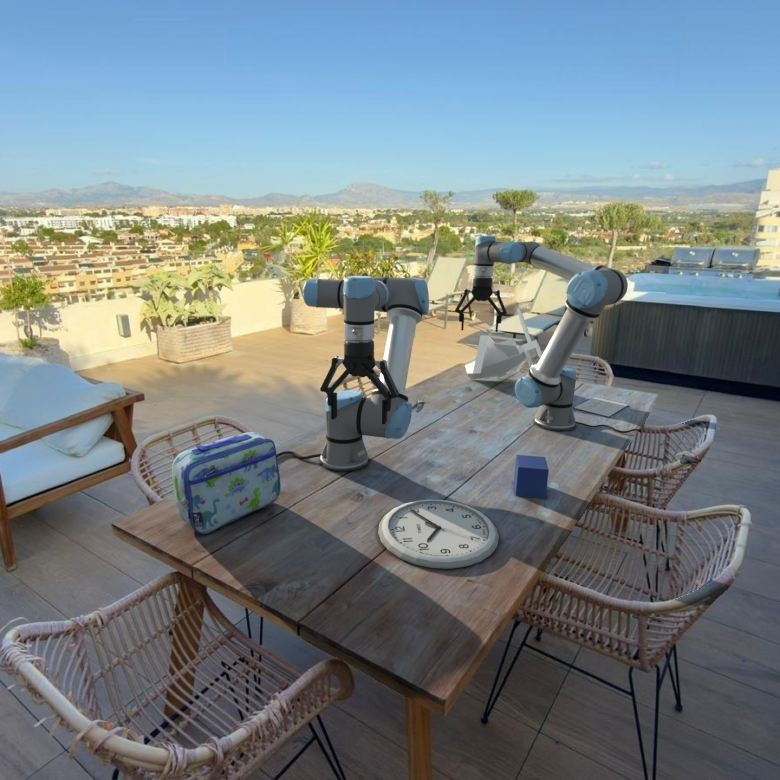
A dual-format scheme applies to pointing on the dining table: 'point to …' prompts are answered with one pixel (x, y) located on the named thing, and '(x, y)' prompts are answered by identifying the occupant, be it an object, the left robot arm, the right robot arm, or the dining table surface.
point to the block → (531, 476)
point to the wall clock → (438, 534)
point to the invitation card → (601, 406)
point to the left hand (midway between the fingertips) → (359, 420)
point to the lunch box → (225, 480)
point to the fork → (418, 402)
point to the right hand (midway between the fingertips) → (479, 330)
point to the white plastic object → (501, 355)
